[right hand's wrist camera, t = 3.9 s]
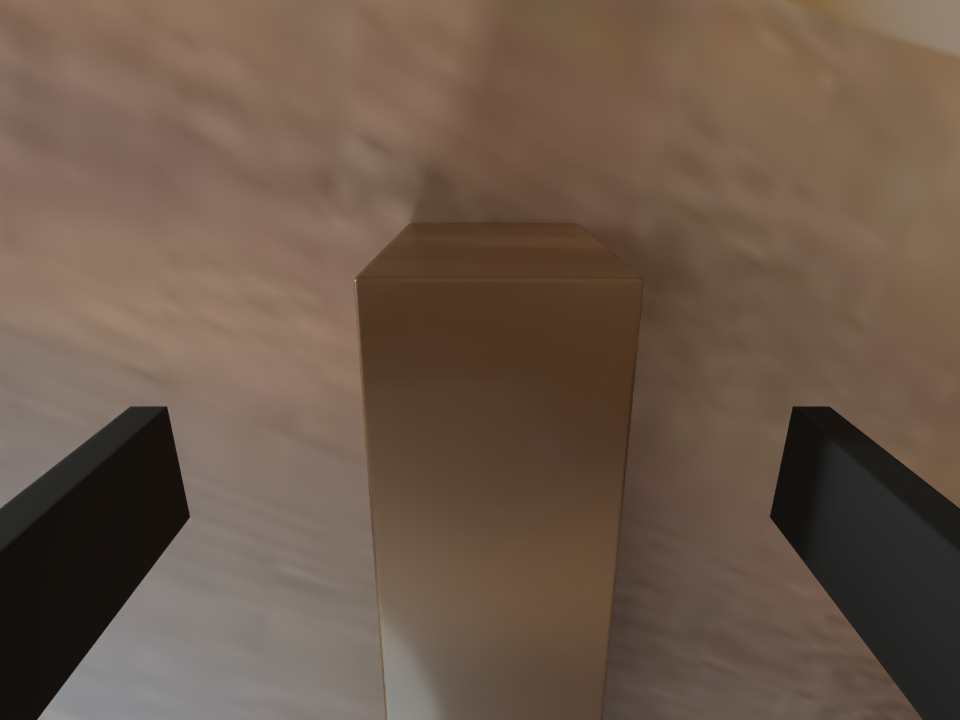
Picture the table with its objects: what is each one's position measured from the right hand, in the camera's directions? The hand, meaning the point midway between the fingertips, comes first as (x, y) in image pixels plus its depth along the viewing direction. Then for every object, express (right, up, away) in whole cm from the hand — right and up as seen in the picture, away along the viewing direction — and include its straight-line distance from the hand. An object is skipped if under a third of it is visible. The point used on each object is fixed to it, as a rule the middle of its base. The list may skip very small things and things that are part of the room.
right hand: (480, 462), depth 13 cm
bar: (0, -28, +16) cm, 32 cm away
